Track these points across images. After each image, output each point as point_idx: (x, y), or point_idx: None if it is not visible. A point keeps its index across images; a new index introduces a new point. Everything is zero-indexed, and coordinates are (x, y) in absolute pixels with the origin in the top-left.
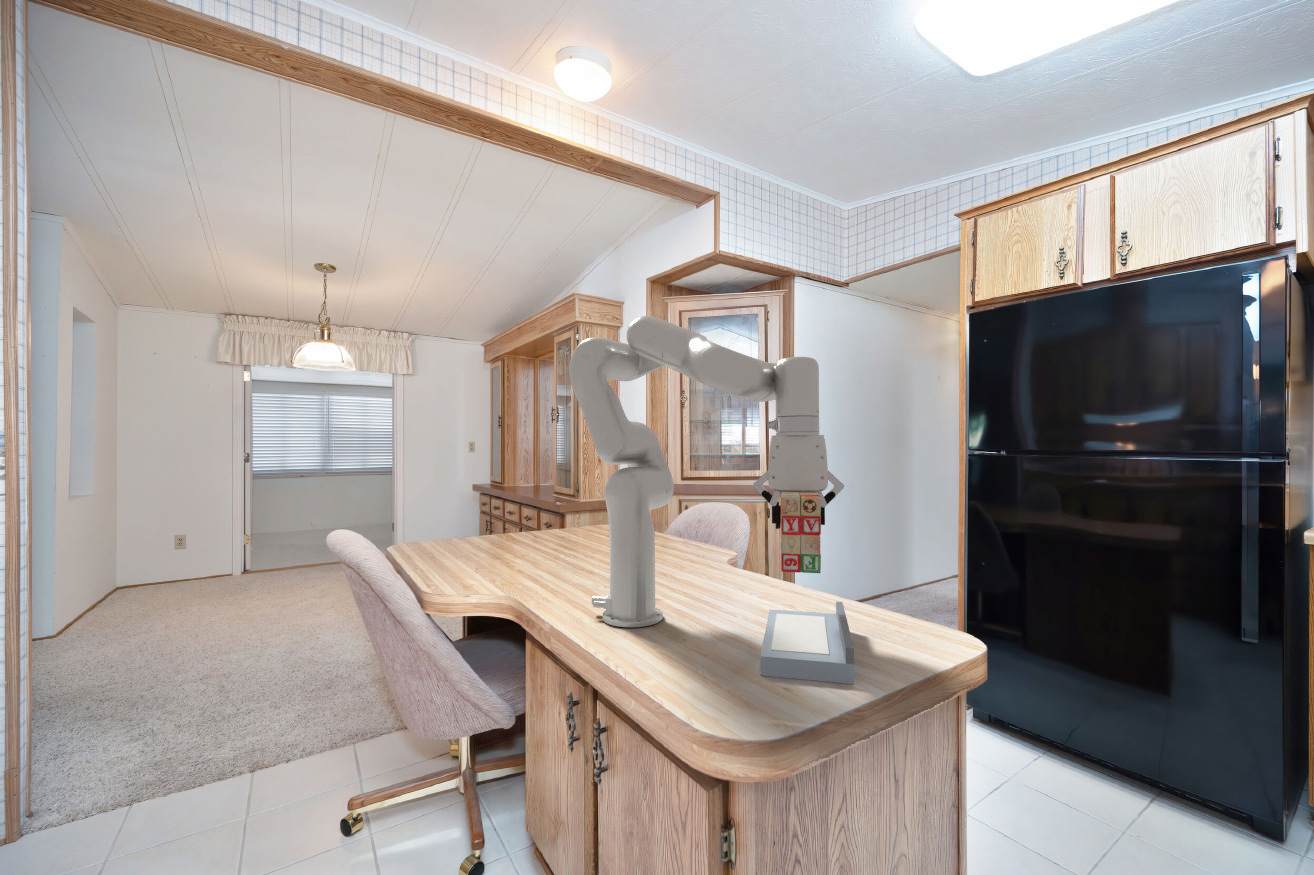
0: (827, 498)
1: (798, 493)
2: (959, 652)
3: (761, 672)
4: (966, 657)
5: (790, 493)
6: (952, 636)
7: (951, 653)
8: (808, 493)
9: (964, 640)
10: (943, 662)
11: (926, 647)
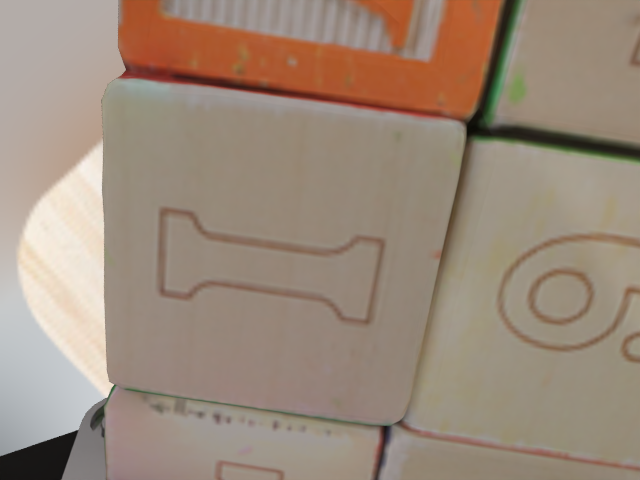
0: (36, 477)
1: (408, 428)
2: (52, 222)
3: None
4: (47, 198)
5: (555, 405)
6: (43, 300)
7: (67, 217)
8: (277, 273)
9: (27, 280)
10: (93, 173)
11: (102, 245)
